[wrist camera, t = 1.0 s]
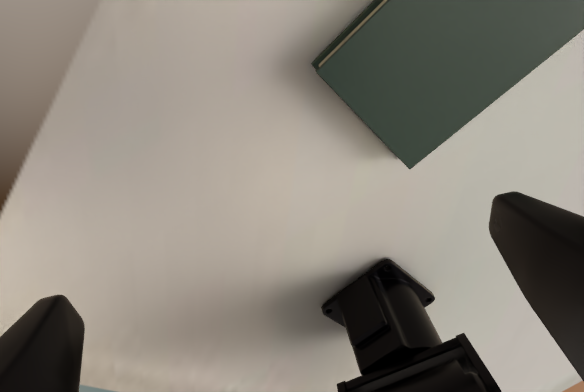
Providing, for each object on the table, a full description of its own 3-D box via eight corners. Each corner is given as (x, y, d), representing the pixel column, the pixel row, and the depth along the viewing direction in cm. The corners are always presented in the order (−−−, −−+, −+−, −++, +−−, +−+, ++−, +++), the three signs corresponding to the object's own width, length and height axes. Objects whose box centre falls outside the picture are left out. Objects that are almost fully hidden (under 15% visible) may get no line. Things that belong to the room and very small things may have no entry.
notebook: (575, 14, 21) (595, 20, 19) (401, 157, 24) (410, 169, 23) (509, -135, 16) (529, -138, 15) (311, 63, 20) (316, 72, 19)
